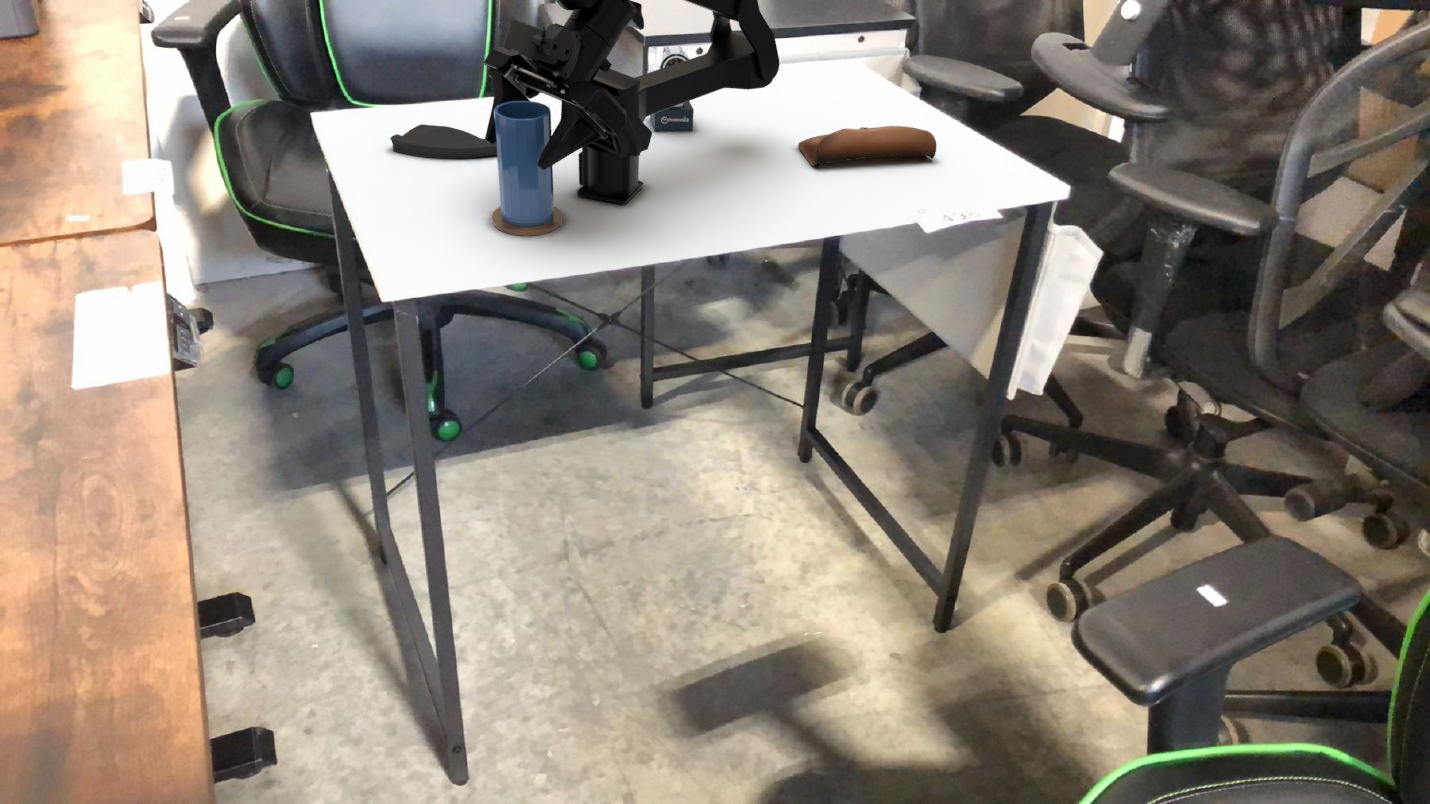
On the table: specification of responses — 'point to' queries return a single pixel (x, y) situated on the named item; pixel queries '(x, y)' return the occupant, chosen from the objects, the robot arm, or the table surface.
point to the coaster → (526, 231)
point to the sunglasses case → (868, 144)
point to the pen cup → (523, 163)
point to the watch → (677, 115)
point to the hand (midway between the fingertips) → (513, 154)
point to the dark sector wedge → (442, 143)
